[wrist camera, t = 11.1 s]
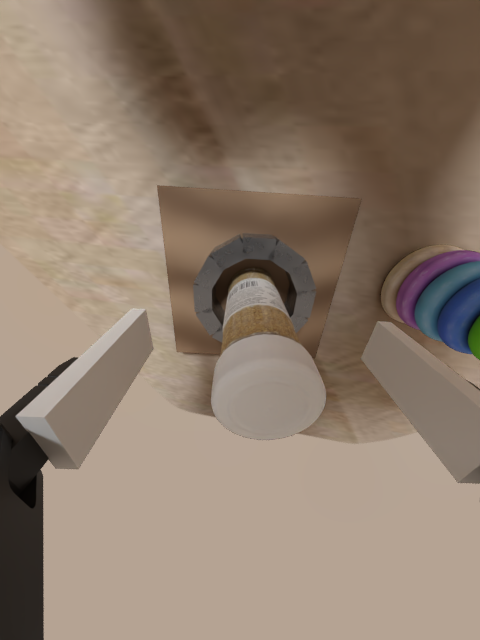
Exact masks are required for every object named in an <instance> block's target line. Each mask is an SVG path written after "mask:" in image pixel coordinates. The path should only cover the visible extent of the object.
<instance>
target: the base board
mask: <svg viewBox="0 0 480 640" xmlns="http://www.w3.org/2000/svg"><path fill="white" fill-rule="evenodd" d="M157 188H158V197H159V205H160V214H161V222H162V231H163V239H164V248H165V256H166V265H167V273H168V282H169V290H170V298H171V307H172V315H173V324H174V332H175V341H176V349H177V352H186V353H208V354H221V348H222V342H220V341H218V340H216V339H214V338H212V335H213V334H212V335H209V333H208V332H207V330H206V329H205V328H204V326H203V325H202V323H201V322H200V320H199V319H198V317H197V316H196V313H197V312H195V309H194V292H193V284H194V283H195V282H194V281H195V279H196V277H197V275H198V274H199V272H200V270H201V268H202V266H203V265H204V263H205V261H206V259H207V257H208V256H209V254H210V253H211V252H212V250H213V249H214V248H215V247H216V246H218V245H220V244H222V243H224V242H226V241H227V240H229V239H231V238H233V237H235V236H236V235H238V234H240V235H241V237H242V239H243V233H252V234H269V235H272V236H275V237H276V238H278V239H279V240H280V241H282V242H283V243H284V244H286V245H287V246H289V247H290V248H291V249H293V250H294V251H295V252H297V253H298V254H299V255H301V256H302V257H303V258H305V260H306V261H307V263H308V266H309V269H310V272H311V275H312V278H313V280H314V283H315V286H316V289H314V290H315V291H316V295H315V299H314V303H313V307H312V311H311V315H310V318H307V319H308V321H307V322H306V323H305V325H304V326H303V327H302V328H301V329H300V330H299V331H298V332H297V333H296V334H297V336H298V339H299V341H300V343H301V344H302V345H303V347H304V348H305V349H306V350H307V351H308V353H309V354H310V355H311V357H312V358H315V356H316V353H317V349H318V346H319V343H320V339H321V336H322V332H323V329H324V326H325V322H326V319H327V315H328V312H329V309H330V305H331V302H332V298H333V295H334V292H335V288H336V285H337V281H338V278H339V275H340V271H341V268H342V265H343V261H344V258H345V254H346V251H347V248H348V244H349V241H350V237H351V234H352V231H353V227H354V224H355V220H356V217H357V214H358V210H359V207H360V203H361V200H362V199H359V198H344V197H328V196H313V195H297V194H282V193H266V192H251V191H235V190H220V189H204V188H189V187H173V186H158V185H157ZM249 267H255V268H260V269H263V270H264V271H266V272H268V273H269V274H270V276H271V277H272V278H273V280H274V283H275V288H276V289H277V291H278V293H279V295H280V297H281V299H282V302H283V304H284V303H285V302H286V300H287V295H288V289H289V283H290V282H289V279H288V277H287V274H286V272H285V270H284V269H282V268H281V267H280V266H278V265H277V264H275V263H274V262H272V261H271V260H261V259H244V260H242V261H240V262H238V263H236V264H234V265H232V266H230V267H228V268H226V269H224V270H223V272H222V273H221V275H220V277H219V278H218V280H217V282H216V298H217V299H218V301H219V303H220V304H221V306H222V308H223V309H224V311H225V309H226V303H227V297H228V287H229V283H230V282H231V279H232V277H233V276H234V275H235V274H236V273H237V272H239V271H240V270H243V269H245V268H249Z"/></svg>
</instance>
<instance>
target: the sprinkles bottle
mask: <svg viewBox="0 0 480 640" xmlns="http://www.w3.org/2000/svg"><path fill="white" fill-rule="evenodd" d="M325 402H326V390H325V386H324V383H323V381H322V378H321V376H320V374H319V371H318V369H317V367H316V365H315V363H314V361H313V359H312V357H311V355H310V354H309V353H308V351H307V350H306V349H305V348H304V347H303V345H302V344H301V343H300V341H299V339H298V336H297V334H296V333H295V330H294V326H293V323H292V321H291V319H290V317H289V314H288V312H287V310H286V308H285V306H284V304H283V302H282V299H281V297H280V295H279V293H278V291H277V289H276V288H275V283H274V280H273V278H272V277H271V276H270V274H269V273H268V272H266V271H264V270H263V269H260V268H255V267H249V268H245V269H243V270H240V271H239V272H237V273H236V274H235V275H234V276H233V277H232V279H231V282H230V283H229V287H228V297H227V303H226V309H225V316H224V323H223V340H222V348H221V355H220V358H219V359H218V361H217V364H216V366H215V370H214V377H213V384H212V393H211V406H212V410H213V412H214V414H215V417H216V418H217V420H218V421H219V422H220V423H221V424H222V425H223V426H224V427H225V428H226V429H228V430H229V431H231V432H233V433H235V434H237V435H240V436H243V437H246V438H250V439H257V440H273V439H280V438H285V437H288V436H292V435H294V434H297V433H299V432H301V431H303V430H305V429H306V428H308V427H309V426H311V425H312V424H313V423H314V422H315V421H316V420H317V419H318V417H319V416H320V415H321V413H322V411H323V409H324V407H325Z"/></svg>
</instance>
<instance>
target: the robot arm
mask: <svg viewBox="0 0 480 640" xmlns="http://www.w3.org/2000/svg"><path fill="white" fill-rule="evenodd" d="M152 350H153V344H152V338H151V333H150V328H149V323H148V318H147V313H146V309H133V308H132V309H131V310H130V311H129V312H128V313H127V314H125V315H124V316H123V317H122V318H121V319H120V320H119V321H118V322H117V323H116V324H115V325H114V326H112V327H111V328H110V329H109V330H108V331H107V332H106V333H105V334H104V335H103V336H102V337H101V338H100V339H98V340H97V341H96V342H95V343H94V344H93V345H92V346H91V347H90V348H89V349H88V350H87V351H85V352H84V353H83V354H82V355H81V356H80V357H79V358H75V357H74V358H72V359H70V360H68V361H66V362H64V363H63V364H61V365H59V366H58V367H57V368H56V369H55V370H53V371H52V372H51V373H50V374H49V375H48V377H45V378H44V379H43V380H42V381H41V382H39V383H38V386H35V387H34V388H33V389H31V390H30V391H29V392H28V393H27V394H26V395H24V396H23V397H22V398H21V399H20V400H19V401H18V402H16V403H15V404H14V405H13V406H12V407H11V408H10V409H8V410H7V411H6V412H5V413H4V414H3V415H1V417H0V640H44V638H43V475H42V472H41V470H40V469H41V468H42V467H43V465H44V464H45V463H46V461H47V460H48V459H49V461H50V462H51V463H52V465H53V466H54V467H55V468H58V469H79V468H80V466H81V464H82V463H83V461H84V459H85V458H86V456H87V454H88V453H89V452H90V450H91V448H92V447H93V445H94V444H95V442H96V440H97V439H98V437H99V436H100V434H101V432H102V431H103V429H104V427H105V426H106V424H107V423H108V421H109V419H110V418H111V416H112V415H113V413H114V411H115V410H116V408H117V406H118V405H119V403H120V402H121V400H122V398H123V397H124V395H125V394H126V392H127V390H128V389H129V387H130V386H131V384H132V382H133V381H134V379H135V377H136V376H137V374H138V373H139V371H140V370H141V368H142V366H143V365H144V363H145V362H146V360H147V358H148V357H149V355H150V354H151V352H152ZM361 360H362V361H363V362H364V364H365V365H366V366H367V367H368V369H369V370H370V371H371V373H372V374H373V375H374V376H375V378H376V379H377V380H378V382H379V383H380V384H381V385H382V387H383V388H384V389H385V390H386V392H387V393H388V394H389V396H390V397H391V398H392V399H393V401H394V402H395V403H396V404H397V406H398V407H399V408H400V410H401V411H402V412H403V413H404V415H405V416H406V417H407V419H408V420H409V421H410V422H411V424H412V425H413V426H414V427H415V429H416V430H417V431H418V433H419V434H420V435H421V436H422V438H423V439H424V440H425V441H426V443H427V444H428V445H429V447H430V448H431V449H432V450H433V452H434V453H435V454H436V455H437V457H438V458H439V459H440V461H441V462H442V463H443V464H444V466H445V467H446V468H447V469H448V471H449V472H450V473H451V475H452V476H453V477H454V478H455V480H456V481H457V482H458V483H478V484H479V483H480V389H479V388H478V387H476V386H475V385H474V384H472V383H471V382H469V381H467V380H465V379H464V378H463V377H461V376H460V375H459V374H457V373H456V372H455V371H453V370H452V369H451V368H450V367H448V366H447V365H446V364H444V363H443V362H442V361H441V360H439V359H438V358H437V357H435V356H434V355H433V354H431V353H430V352H429V351H428V350H426V349H425V348H424V347H422V346H421V345H420V344H419V343H417V342H416V341H415V340H413V339H412V338H411V337H409V336H408V335H407V334H406V333H404V332H403V331H402V330H400V329H399V328H398V327H396V326H395V325H394V324H393V323H391V322H383V321H377V323H376V325H375V328H374V330H373V332H372V334H371V337H370V339H369V341H368V343H367V346H366V348H365V350H364V352H363V354H362V357H361Z"/></svg>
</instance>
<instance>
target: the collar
mask: <svg viewBox="0 0 480 640" xmlns="http://www.w3.org/2000/svg"><path fill="white" fill-rule="evenodd" d="M244 259H261V260H271V261H272V262H274V263H275V264H277V265H278V266H280V267H281V268H282V269H284V270H285V272H286V274H287V277H288V279H289V282H290V283H289V289H288V295H287V300H286V302H285V303H284V306H285V308H286V310H287V312H288V314H289V317H290V319H291V321H292V323H293V326H294V330H295V333H297V332H298V331H299V330H300V329H301V328H302V327H303V326H304V325H305V323H306V322H307V321H308V319H307V318H310V315H311V311H312V307H313V303H314V299H315V295H316V291H315V290H314V289H316V286H315V283H314V280H313V278H312V275H311V272H310V269H309V266H308V263H307V261H306V260H305V258H303V257H302V256H301V255H299V254H298V253H297V252H295V251H294V250H293V249H291V248H290V247H289V246H287V245H286V244H284V243H283V242H282V241H280V240H279V239H278V238H276V237H275V236H272V235H269V234H252V233H243V239H242V237H241V235H240V234H238V235H236V236H235V237H233V238H231V239H229V240H227V241H226V242H224V243H222V244H220V245H218V246H216V247H215V248H214V249H213V250H212V252H211V253H210V254H209V256H208V257H207V259H206V261H205V263H204V265H203V266H202V268H201V270H200V272H199V274H198V275H197V277H196V279H195V281H194V282H195V283H194V284H193V292H194V309H195V312H197V313H196V316H197V317H198V319H199V320H200V322H201V323H202V325H203V326H204V328H205V329H206V330H207V332H208V333H209V335H212V334H213V335H212V338H214V339H216V340H218V341H220V342H222V340H223V323H224V316H225V311H224V309H223V308H222V306H221V304H220V303H219V301H218V299H217V298H216V282H217V280H218V278H219V277H220V275H221V273H222V272H223V270H224V269H226V268H228V267H230V266H232V265H234V264H236V263H238V262H240V261H242V260H244Z"/></svg>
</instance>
